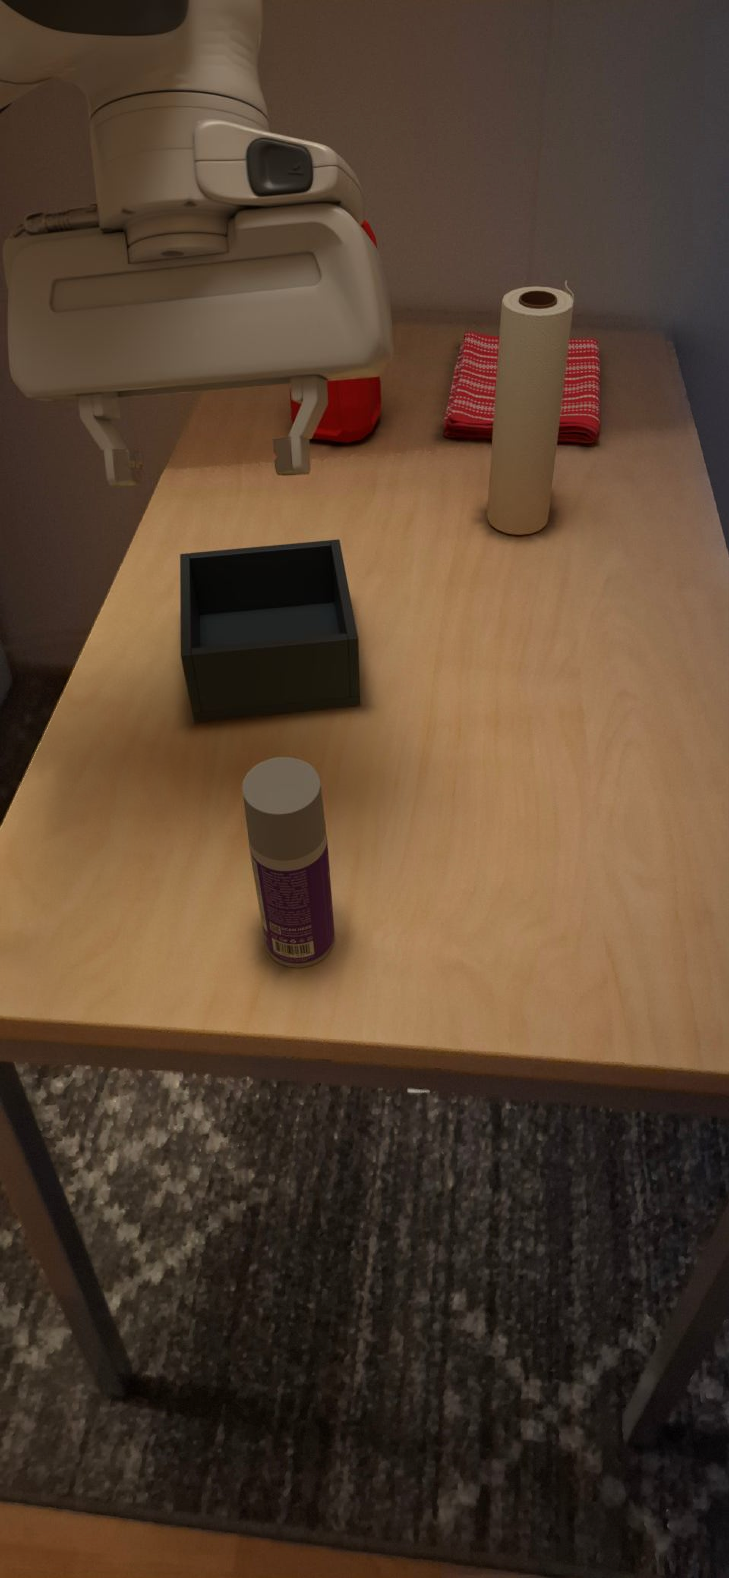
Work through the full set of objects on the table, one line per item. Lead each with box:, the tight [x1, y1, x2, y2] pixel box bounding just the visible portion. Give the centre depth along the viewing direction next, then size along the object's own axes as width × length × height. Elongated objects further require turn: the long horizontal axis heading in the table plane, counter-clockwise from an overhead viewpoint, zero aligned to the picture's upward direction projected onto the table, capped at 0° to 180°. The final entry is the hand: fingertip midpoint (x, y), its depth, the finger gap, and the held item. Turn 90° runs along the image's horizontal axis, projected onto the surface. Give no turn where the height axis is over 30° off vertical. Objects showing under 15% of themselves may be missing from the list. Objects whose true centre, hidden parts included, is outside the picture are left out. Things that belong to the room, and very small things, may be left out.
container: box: [241, 756, 336, 969], centre depth 64 cm, size 5×5×15 cm
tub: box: [179, 539, 362, 723], centre depth 87 cm, size 14×14×7 cm
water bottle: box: [289, 218, 382, 444], centre depth 108 cm, size 9×11×25 cm
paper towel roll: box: [486, 279, 575, 536], centre depth 95 cm, size 7×6×21 cm
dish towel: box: [442, 331, 601, 444], centre depth 120 cm, size 17×24×3 cm
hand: (208, 480), depth 56 cm, fingers open, 8 cm apart
